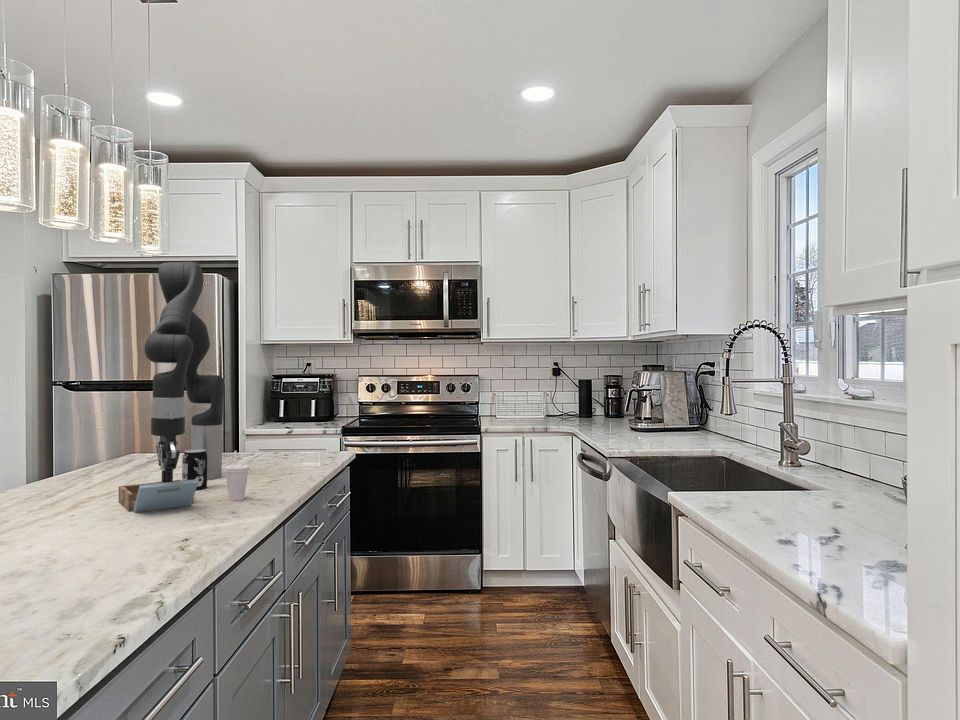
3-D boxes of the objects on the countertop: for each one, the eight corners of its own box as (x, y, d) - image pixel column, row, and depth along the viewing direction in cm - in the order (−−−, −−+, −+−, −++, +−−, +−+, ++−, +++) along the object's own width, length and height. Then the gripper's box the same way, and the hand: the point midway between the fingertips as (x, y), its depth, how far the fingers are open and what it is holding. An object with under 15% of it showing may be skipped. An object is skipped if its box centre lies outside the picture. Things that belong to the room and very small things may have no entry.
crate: (118, 505, 163) (118, 486, 163) (180, 497, 173) (180, 479, 173) (128, 515, 153) (128, 494, 153) (193, 506, 163) (193, 487, 163)
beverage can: (211, 489, 184) (211, 449, 184) (199, 494, 178) (199, 452, 178) (190, 488, 185) (190, 448, 185) (177, 493, 178) (177, 451, 178)
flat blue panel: (133, 511, 154) (139, 485, 149) (189, 504, 162) (197, 478, 157) (134, 515, 153) (140, 489, 148) (190, 508, 161) (198, 482, 156)
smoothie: (218, 503, 167) (219, 451, 167) (237, 498, 173) (238, 448, 173) (235, 506, 164) (235, 453, 164) (254, 501, 170) (255, 450, 170)
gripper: (145, 413, 156) (144, 482, 157) (157, 418, 146) (156, 492, 147) (177, 412, 161) (176, 478, 161) (192, 417, 151) (190, 488, 151)
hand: (167, 485), depth 154 cm, fingers closed
